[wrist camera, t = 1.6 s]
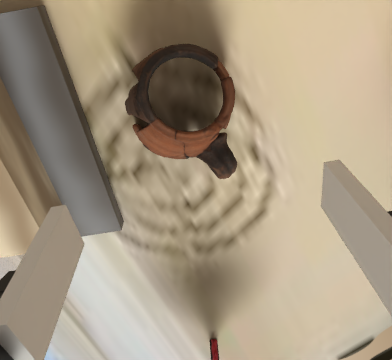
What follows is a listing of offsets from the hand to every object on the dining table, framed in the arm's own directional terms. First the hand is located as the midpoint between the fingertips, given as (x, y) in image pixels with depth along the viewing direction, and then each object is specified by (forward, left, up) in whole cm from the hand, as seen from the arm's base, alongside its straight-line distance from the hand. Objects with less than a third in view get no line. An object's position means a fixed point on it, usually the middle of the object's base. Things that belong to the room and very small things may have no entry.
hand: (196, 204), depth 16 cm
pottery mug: (0, 0, -16) cm, 16 cm away
